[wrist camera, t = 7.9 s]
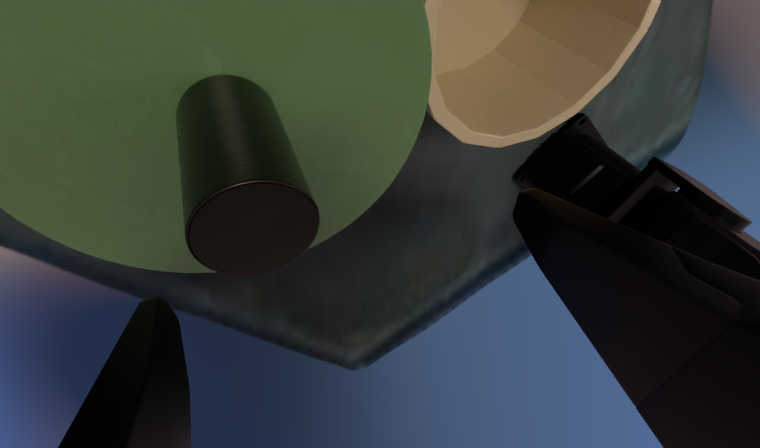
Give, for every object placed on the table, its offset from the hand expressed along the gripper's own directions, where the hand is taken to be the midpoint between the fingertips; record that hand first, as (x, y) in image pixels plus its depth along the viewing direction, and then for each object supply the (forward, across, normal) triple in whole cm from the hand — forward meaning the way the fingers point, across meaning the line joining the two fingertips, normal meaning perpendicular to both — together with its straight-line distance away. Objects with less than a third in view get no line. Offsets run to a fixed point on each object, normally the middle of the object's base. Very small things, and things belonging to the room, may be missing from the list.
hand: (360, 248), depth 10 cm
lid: (+4, +2, -2) cm, 5 cm away
